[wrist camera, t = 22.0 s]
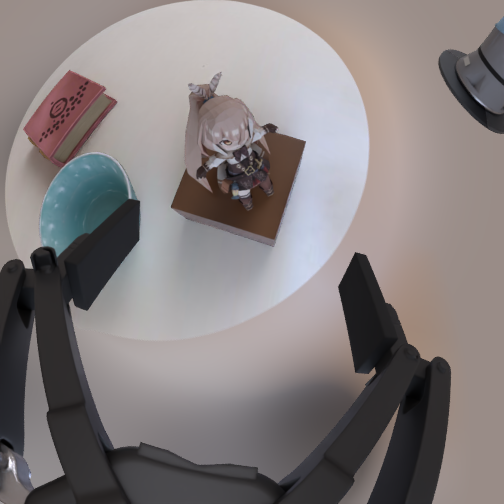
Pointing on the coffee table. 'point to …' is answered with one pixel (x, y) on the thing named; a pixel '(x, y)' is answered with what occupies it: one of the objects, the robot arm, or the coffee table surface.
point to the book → (68, 117)
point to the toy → (226, 143)
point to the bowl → (82, 198)
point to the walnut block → (264, 207)
